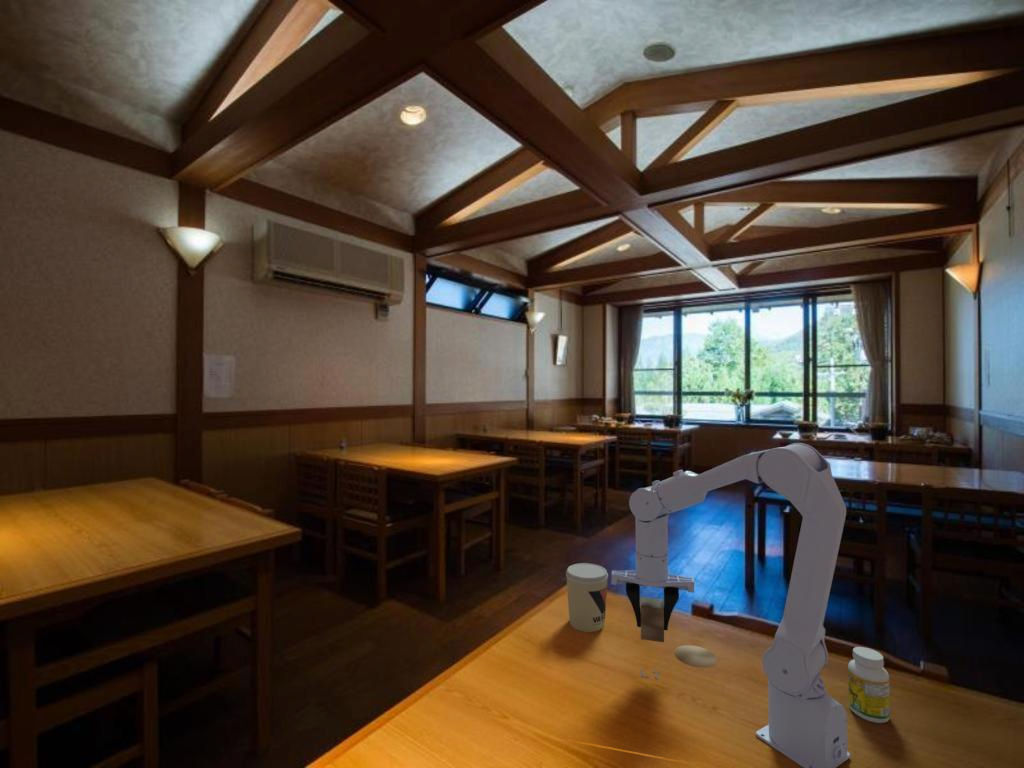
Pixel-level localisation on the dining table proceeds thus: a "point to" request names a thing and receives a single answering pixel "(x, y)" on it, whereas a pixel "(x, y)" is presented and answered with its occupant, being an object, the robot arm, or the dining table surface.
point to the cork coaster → (695, 656)
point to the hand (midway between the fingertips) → (652, 626)
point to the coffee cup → (587, 596)
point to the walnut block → (652, 619)
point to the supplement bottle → (868, 685)
